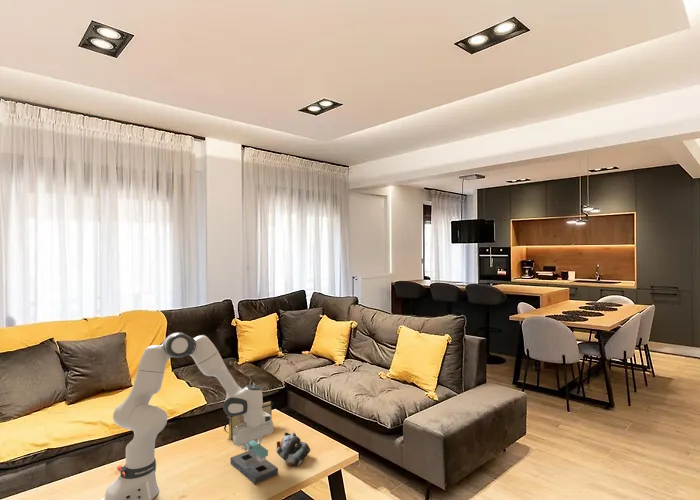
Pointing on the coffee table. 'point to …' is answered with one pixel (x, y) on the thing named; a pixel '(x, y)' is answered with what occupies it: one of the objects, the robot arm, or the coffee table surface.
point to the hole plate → (253, 467)
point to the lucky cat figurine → (292, 449)
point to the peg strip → (257, 450)
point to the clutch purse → (240, 418)
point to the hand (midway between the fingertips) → (253, 447)
